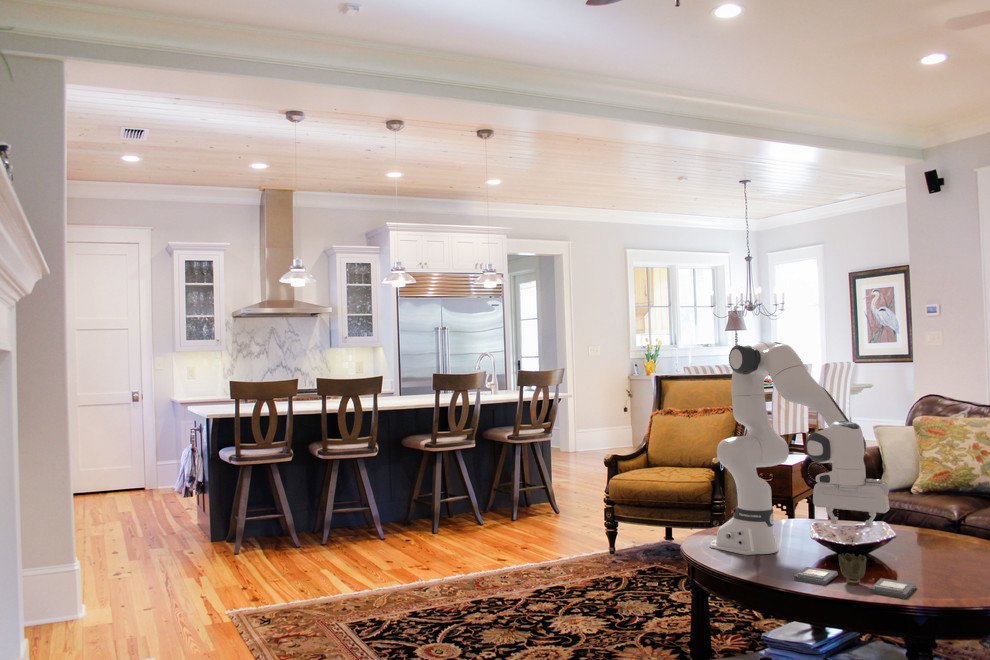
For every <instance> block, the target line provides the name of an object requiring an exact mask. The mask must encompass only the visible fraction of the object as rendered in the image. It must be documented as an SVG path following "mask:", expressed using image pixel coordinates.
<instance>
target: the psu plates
mask: <svg viewBox="0 0 990 660" xmlns="http://www.w3.org/2000/svg"><path fill="white" fill-rule="evenodd" d="M837 576H838V571H837V570H830V569H825V568H824V569H823V568H817V567H811V566H805V567H804V568H802V569H801V570H800V571H799V572H797V573H795V574H794V575H793V581H798V582H805V583H810V584H816V585H822V586H827V584H829V583H830V582H832V580H834V579H835V578H837ZM916 585H917V583H915V582H914V583H913V582H909V581H902V580H895V579H889V578H882V577H881V578H879V579H878V580H877V581H876V583H874V584H873V585H872V586H871V587H870V588H869V590H870V591H869V593H870V594H876V595H881V596H882V595H883V596H888V597H893V598H900V599H905V600H906V599H907V598H909V596H910V595H911V594H912V593H913V592H914V591H915V589H916V587H917V586H916Z"/></svg>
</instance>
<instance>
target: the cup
mask: <svg viewBox="0 0 990 660" xmlns="http://www.w3.org/2000/svg"><path fill="white" fill-rule="evenodd" d="M838 562H839V569H840V572H841V574H842V576H843V577H844V578H846V580H845V581H846V583H847V584H848V585H851V586H857V585H858V586H859V585H860V584H861V579H863V578H864V576H865V574H866V570H867V569H866V567H867V557H866V556H865V555H862V553H860V554H858V556H857V555H856V556H855V553H848V552H846V553H845V554H844V553H841V554H840V553H839V554H838Z"/></svg>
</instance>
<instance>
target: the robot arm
mask: <svg viewBox="0 0 990 660" xmlns="http://www.w3.org/2000/svg"><path fill="white" fill-rule="evenodd" d="M728 362H729V366H730V368H731V369H732V375H731V385H730V386H731V387H730V389H731V390H730V391H731V404H732V405H731V406H732V417H733V418H734V419H735V421H736V422H737V423H739V424H741V426H742V425H743V426H744V427H745V429H746V430H747V433H748V435H740V436H737V435H736V436H731V437H727V438H725V439H722V440H721V441H720V442H719V443H718V444H717V448H716V456H717V459H718V461H719V463H720V464H721V465H722V466H723V467H724V468H725V469H727V471H728V472H729V473H730V474H731V475H732V476H731V477H733V480H734V482H735V487H736V493H737V494H736V495H737V496H736V497H737V505H736V506H735V507H733V509H731V513H730V514H733V515H732V518H730V519H729V520H727V521H726V522H725V523H724V524H722V525H721V526H720V527H718V529H717V532H716V539H713V540H712V541H710V543H709V547H710V548H711V549H717V550H722V551H726V552H731V553H736V554H740V555H745V556H751V555H769V554H774V553H777V552H779V548H778V545H777V541H776V537H775V531H774V523H775V516H774V508H773V506H772V505H773V504H772V488H771V485H770V484H769V483H768V482H767V481H766V480H764V479H763V478H760V477H759V474H758V470H757V468H767V467H769V468H770V467H774V466H778V465H781V464H784V463H785V462H786V461H787V460H788V458H789V454H790V453H789V451H790V450H789V445H788V443H787V441H786V440H785V439H784V438H783V437H782V436H780V435H779V434H778V433H777V432H776V430H775V429H774V428H773V426H772V424H771V422H770V419H769V417H768V416H769V415H768V411H767V404H766V394H765V392H766V391H765V385H764V384H765V383H764V381H765V379H766V377H767V376H769V377H770V379H771V380H772V383H773V385H774V388H775V390H776V391H777V392H778V394H779V395H780V396H781V397H782V398H783V399H784V400H786V401H788V402H790V403H794V404H797V405H800V406H801V405H802V406H805V407H808V408H809V409H812V410H813V411H815V412H818V415H820V416H821V417H822V419H823V420H824V422H825V423H826V425H827V426H828V427H826V428H825V429H820V430H818V431H815V432H812V433H809V435H808V436H807V438H806V440H805V450H806V454H807V455H808V457H809V458H810V459H811V461H813V462H815V463H819V464H827V463H828V464H829V463H831V465H832V466H831V470H828V471H825V472H823V473H819V474H817V475H816V476H815V482H816V484H815V485H813V486H814V487H813V492H812V494H813V495H812V503H813V505H814V506H815V507H816V508H825V510H826V513H827V515H828V516H829V518H830V523H831V524H833V525H837V524H838V523H839V521H838V520H839V517H838V516H835V515H834V513H833V512H834V509H837V510H844V511H845V510H848V511H856V512H868V515H869V516H870V517H869V519H868V520H867V519H866V520H865V521H864V523H865V527H866V528H870V529H871V528H873V521H874V520H875V518H876V516H877V513H878V514H886V513H887V512H888V511H889V510H890V500H889V492H890V487H889V484H888V483H887V482H886V481H884V480H883V479H874V478H867V476H866V475H867V474H866V465H865V461H864V457H865V453H866V450H867V443H866V439H865V437H864V434H863V431H862V428H861V426H860V425H859V424H857V423H856V422H853V421H850V420H849V418H847V416H846V414H845V413H844V412H843V410H842V408H841V407H840V406H839V405H838V403H837V402H836V400H835V399H834V397H832V395H831V394H830V393H829V391H827V389H825V388H824V387H823V386H822V385H820V383H818V382H817V381H816V380H815V379H814V378H813V377H812V376H811V373H810V372H809V371H808V369H807V368H806V366H805V364H804V362H803V361H802V358H800V356H799V355H798V353H797V352H796V351H795V350H794V348H793V347H792V346H791V345H788V344H786V343H781V342H776V341H774V342H770V341H757V342H750V343H749V342H748V343H746V342H743V343H742V342H741V343H739V344H736V345H733V346H732V348H731V349H730V351H729V355H728Z"/></svg>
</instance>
